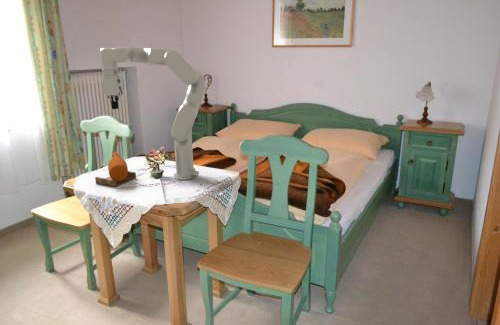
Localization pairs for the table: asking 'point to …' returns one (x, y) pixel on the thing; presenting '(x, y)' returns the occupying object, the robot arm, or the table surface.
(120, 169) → the wine bottle
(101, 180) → the u rest
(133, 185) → the table surface
